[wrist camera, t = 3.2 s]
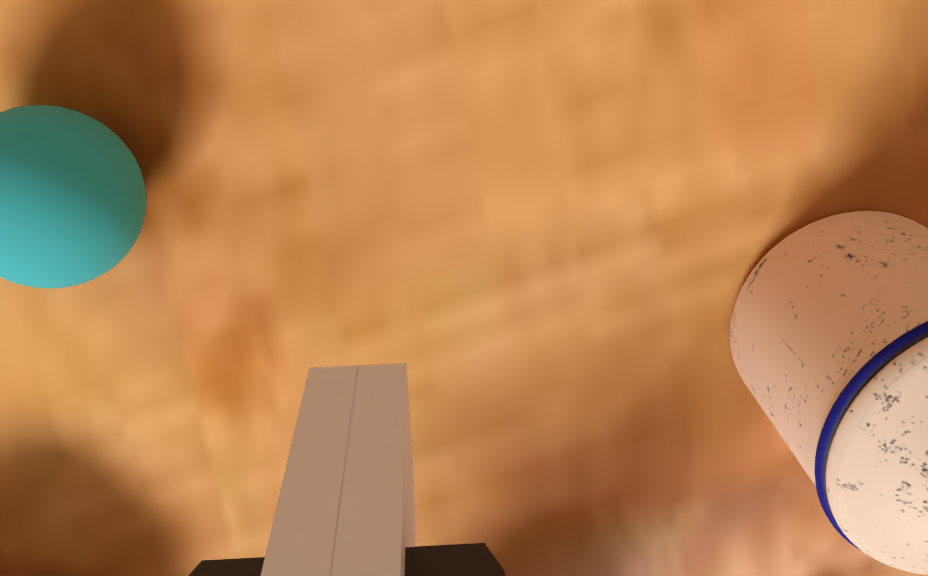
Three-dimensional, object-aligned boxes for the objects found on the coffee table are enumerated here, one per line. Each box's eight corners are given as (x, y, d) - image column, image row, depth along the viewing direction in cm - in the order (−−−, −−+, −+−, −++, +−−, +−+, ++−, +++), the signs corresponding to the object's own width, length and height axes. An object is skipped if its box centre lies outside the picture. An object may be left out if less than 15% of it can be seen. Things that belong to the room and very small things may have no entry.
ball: (17, 252, 29) (-64, 324, 24) (-25, 91, 27) (-124, 134, 22) (179, 245, 29) (131, 315, 24) (150, 85, 27) (92, 126, 22)
